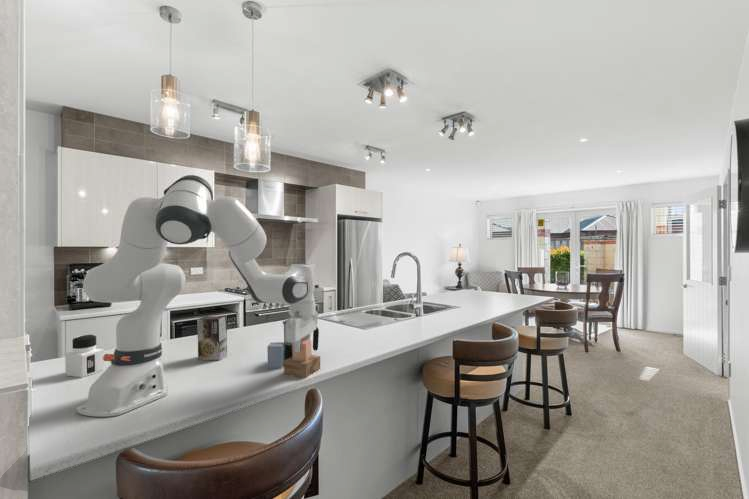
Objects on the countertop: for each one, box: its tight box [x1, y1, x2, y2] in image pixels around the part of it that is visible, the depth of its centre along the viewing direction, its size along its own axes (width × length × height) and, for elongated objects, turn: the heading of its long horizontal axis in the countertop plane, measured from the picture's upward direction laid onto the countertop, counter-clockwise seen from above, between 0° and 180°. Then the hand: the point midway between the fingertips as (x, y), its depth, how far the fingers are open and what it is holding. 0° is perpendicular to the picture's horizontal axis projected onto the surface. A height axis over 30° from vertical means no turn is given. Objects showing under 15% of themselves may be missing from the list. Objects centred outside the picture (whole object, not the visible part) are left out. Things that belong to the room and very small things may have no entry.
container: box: [64, 334, 105, 378], centre depth 128 cm, size 8×8×13 cm
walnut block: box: [283, 354, 321, 378], centre depth 129 cm, size 9×9×5 cm
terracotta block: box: [292, 339, 313, 361], centre depth 129 cm, size 5×5×6 cm
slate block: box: [266, 341, 284, 369], centre depth 135 cm, size 5×5×8 cm
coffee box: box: [196, 315, 228, 361], centre depth 145 cm, size 9×6×16 cm
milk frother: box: [282, 319, 320, 360], centre depth 148 cm, size 14×16×15 cm
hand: (302, 348), depth 129 cm, fingers open, 6 cm apart
